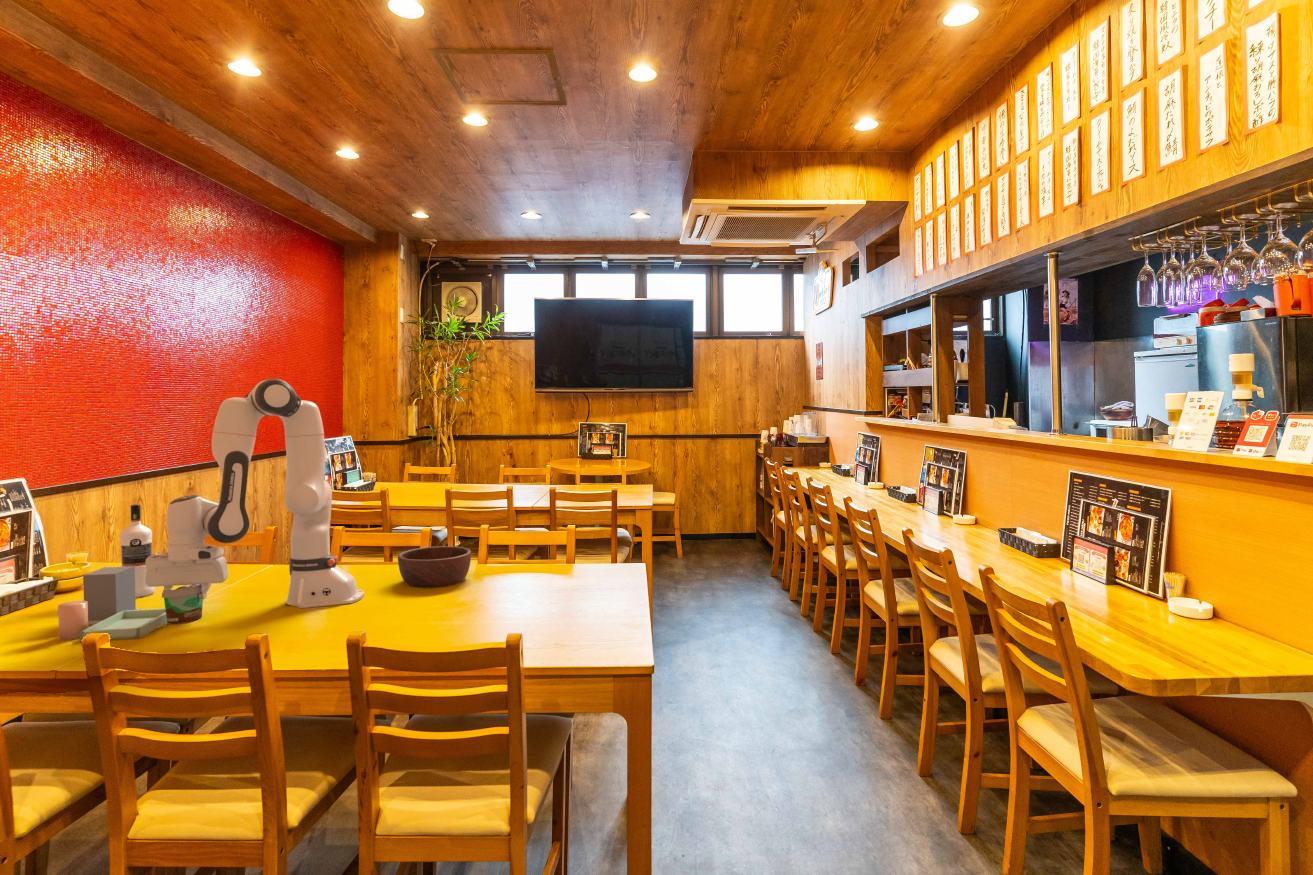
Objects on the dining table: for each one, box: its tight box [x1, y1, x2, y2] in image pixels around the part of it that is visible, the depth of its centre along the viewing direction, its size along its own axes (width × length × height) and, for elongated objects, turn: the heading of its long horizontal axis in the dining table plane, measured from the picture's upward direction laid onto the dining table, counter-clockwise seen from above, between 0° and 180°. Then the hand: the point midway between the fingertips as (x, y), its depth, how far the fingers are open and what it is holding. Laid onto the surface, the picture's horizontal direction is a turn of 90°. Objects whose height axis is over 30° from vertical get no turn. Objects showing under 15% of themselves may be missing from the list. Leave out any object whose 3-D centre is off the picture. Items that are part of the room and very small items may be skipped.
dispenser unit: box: [82, 566, 142, 626], centre depth 197 cm, size 10×12×14 cm
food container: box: [161, 584, 204, 625], centre depth 195 cm, size 12×6×10 cm, turn 169°
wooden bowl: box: [397, 545, 472, 588], centre depth 241 cm, size 25×25×10 cm
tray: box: [78, 607, 167, 643], centre depth 188 cm, size 14×20×2 cm
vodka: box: [119, 503, 156, 599], centre depth 222 cm, size 9×9×30 cm
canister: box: [57, 600, 89, 642], centre depth 181 cm, size 6×6×9 cm
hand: (188, 599), depth 195 cm, fingers closed on food container, 6 cm apart
